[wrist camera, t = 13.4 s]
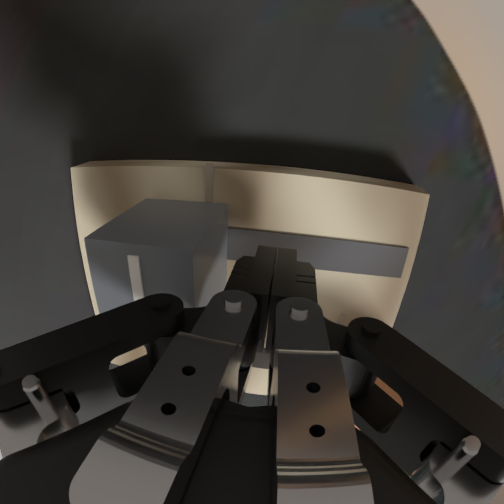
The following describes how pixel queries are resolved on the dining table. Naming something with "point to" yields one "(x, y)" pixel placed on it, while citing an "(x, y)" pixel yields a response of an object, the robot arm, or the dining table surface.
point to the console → (278, 226)
